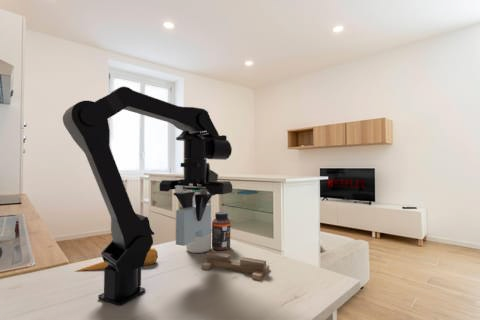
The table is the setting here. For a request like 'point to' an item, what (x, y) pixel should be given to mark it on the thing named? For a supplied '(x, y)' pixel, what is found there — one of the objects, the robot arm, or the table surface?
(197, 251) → the green-capped white bottle
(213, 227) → the supplement bottle
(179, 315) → the table surface
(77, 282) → the table surface
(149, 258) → the carrot
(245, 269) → the walnut crossed blocks
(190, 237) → the pale blue flat block
